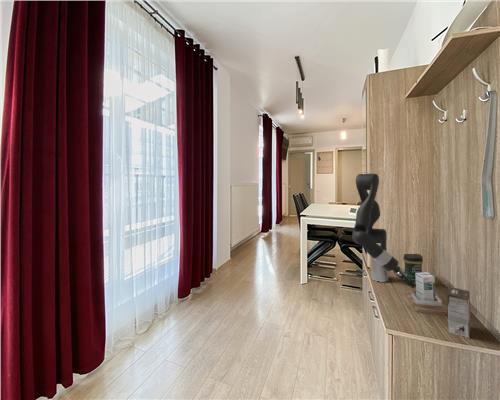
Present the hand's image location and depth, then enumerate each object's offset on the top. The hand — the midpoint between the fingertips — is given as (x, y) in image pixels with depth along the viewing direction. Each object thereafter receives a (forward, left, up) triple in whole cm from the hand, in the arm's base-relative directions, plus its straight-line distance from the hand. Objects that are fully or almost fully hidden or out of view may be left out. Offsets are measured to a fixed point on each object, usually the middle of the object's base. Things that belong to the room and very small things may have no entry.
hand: (412, 283), depth 120 cm
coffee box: (+20, +12, -11) cm, 26 cm away
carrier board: (-2, +7, -11) cm, 13 cm away
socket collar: (0, +6, -9) cm, 11 cm away
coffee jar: (-27, +7, -11) cm, 30 cm away
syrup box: (0, +6, -9) cm, 11 cm away
